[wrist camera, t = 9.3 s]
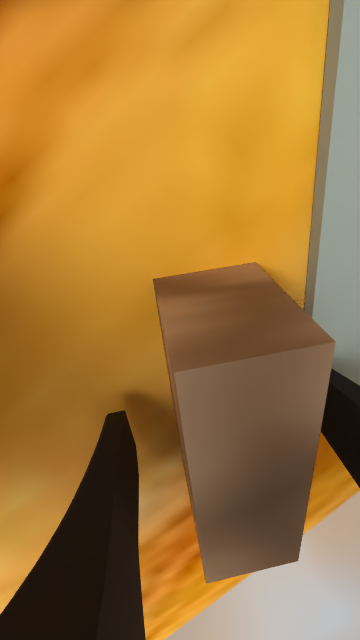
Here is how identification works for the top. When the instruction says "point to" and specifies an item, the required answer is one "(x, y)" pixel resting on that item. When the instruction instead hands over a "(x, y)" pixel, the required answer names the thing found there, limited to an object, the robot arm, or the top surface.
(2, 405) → the top surface
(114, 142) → the top surface
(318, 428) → the brown rectangular block
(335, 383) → the robot arm
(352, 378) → the mat
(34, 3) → the top surface
